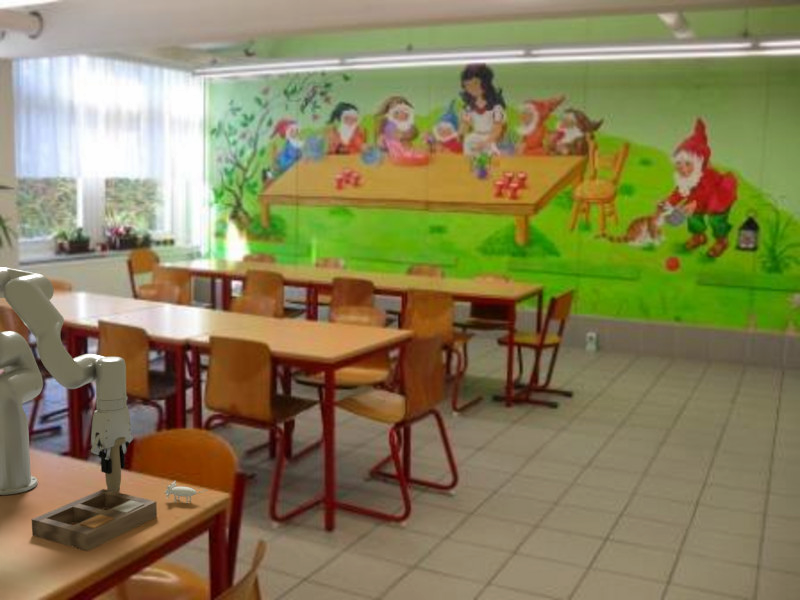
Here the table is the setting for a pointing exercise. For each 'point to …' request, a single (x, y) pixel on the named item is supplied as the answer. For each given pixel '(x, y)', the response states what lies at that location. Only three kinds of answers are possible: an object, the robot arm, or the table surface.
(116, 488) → the handle
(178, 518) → the table surface
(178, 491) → the white animal figurine
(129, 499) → the socket block
